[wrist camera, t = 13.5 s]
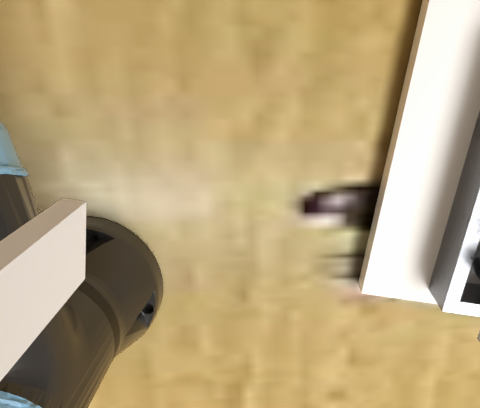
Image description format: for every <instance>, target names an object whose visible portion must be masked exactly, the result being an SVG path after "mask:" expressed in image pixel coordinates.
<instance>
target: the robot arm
mask: <svg viewBox="0 0 480 408" xmlns="http://www.w3.org/2000/svg"><path fill="white" fill-rule="evenodd" d="M27 176H29V175H28V171H27V170H26V169H25V168H23V166H22V164H21V161H20V159H19V157H18V154H17V152H16V150H15V147H14V145H13V142H12V139H11V137H10V134H9V132H8V130H7V128H6V127H5V125H4V124H3V123H2V122H1V121H0V408H88V406H89V404H90V402H91V400H92V398H93V397H94V395H95V393H96V391H97V389H98V387H99V385H100V383H101V381H102V379H103V378H104V376H105V374H106V372H107V370H108V368H109V366H110V364H111V362H112V361H113V359H114V357H115V356H117V355H118V354H119V353H121V352H122V351H123V350H125V349H126V348H127V347H129V346H130V345H131V344H133V343H134V342H135V341H137V340H138V339H139V338H140V337H141V336H142V335H143V334H144V333H145V332H146V331H147V330H148V328H149V327H150V326H151V324H152V322H153V320H154V318H155V316H156V314H157V312H158V310H159V308H160V305H161V302H162V297H163V279H162V274H161V271H160V268H159V265H158V263H157V261H156V259H155V257H154V255H153V254H152V252H151V251H150V249H149V248H148V247H147V246H146V245H145V243H144V242H143V241H142V240H141V239H140V238H139V237H137V236H136V235H135V234H134V233H132V232H131V231H129V230H128V229H126V228H125V227H123V226H121V225H119V224H117V223H114V222H112V221H109V220H106V219H102V218H96V217H86V204H87V201H80V200H74V199H67V198H62V199H60V200H59V201H57V202H56V203H55V204H53V205H52V206H50V207H49V208H47V209H46V210H44V211H43V212H42V213H40V214H39V213H38V210H37V207H36V204H35V201H34V198H33V195H32V192H31V188H30V185H29V182H28V179H27ZM477 339H478V340H479V341H480V332H479V335H478V337H477Z"/></svg>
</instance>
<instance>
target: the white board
mask: <svg viewBox="0 0 480 408" xmlns="http://www.w3.org/2000/svg"><path fill="white" fill-rule="evenodd" d="M479 111H480V0H422V5H421V9H420V14H419V18H418V22H417V27H416V31H415V36H414V40H413V44H412V49H411V53H410V58H409V62H408V66H407V71H406V75H405V80H404V84H403V88H402V93H401V97H400V102H399V106H398V110H397V115H396V119H395V124H394V128H393V132H392V137H391V141H390V146H389V150H388V154H387V159H386V163H385V168H384V172H383V176H382V181H381V185H380V190H379V194H378V198H377V203H376V207H375V212H374V216H373V220H372V225H371V229H370V234H369V238H368V242H367V247H366V251H365V256H364V260H363V264H362V269H361V273H360V278H359V282H358V284H359V287H360V290H361V293H363V294H370V295H377V296H384V297H391V298H398V299H405V300H412V301H419V302H426V303H433V304H437V302H436V301H435V299H434V297H433V296H432V294H431V292H430V291H429V289H428V287H429V284H430V280H431V277H432V273H433V270H434V266H435V263H436V259H437V256H438V252H439V249H440V246H441V242H442V239H443V235H444V232H445V228H446V225H447V221H448V218H449V214H450V211H451V208H452V204H453V201H454V197H455V194H456V190H457V187H458V183H459V180H460V176H461V173H462V169H463V166H464V163H465V159H466V156H467V152H468V149H469V145H470V142H471V138H472V135H473V131H474V128H475V125H476V121H477V118H478V114H479ZM479 242H480V240H479ZM466 283H473V284H480V279H479V278H478V277H477V276H476V275H475V274H474V272H473V271H472V270H471V269H470V271H469V274H468V277H467V280H466Z"/></svg>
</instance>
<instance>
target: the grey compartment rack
mask: <svg viewBox="0 0 480 408" xmlns="http://www.w3.org/2000/svg"><path fill="white" fill-rule="evenodd" d="M479 240H480V111H479V114H478V118H477V121H476V125H475V128H474V131H473V135H472V138H471V142H470V145H469V149H468V152H467V156H466V159H465V163H464V166H463V169H462V173H461V176H460V180H459V183H458V187H457V190H456V194H455V197H454V201H453V204H452V208H451V211H450V214H449V218H448V221H447V225H446V228H445V232H444V235H443V239H442V242H441V246H440V249H439V252H438V256H437V259H436V263H435V266H434V270H433V273H432V277H431V280H430V284H429V287H428V289H429V291H430V292H431V294H432V296H433V297H434V299H435V301H436V302H437V304H438V306H439V307H440V309H441V310H442V311H443V312H450V313H457V314H464V315H471V316H478V317H480V284H473V283H466V280H467V277H468V274H469V271H470V268H471V265H472V261H473V258H474V255H475V252H476V249H477V246H478V243H479Z"/></svg>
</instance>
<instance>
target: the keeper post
mask: <svg viewBox="0 0 480 408" xmlns="http://www.w3.org/2000/svg"><path fill="white" fill-rule="evenodd" d="M470 269H471V270H472V271H473V272H474V274H475V275H476V276H477V277H478V278H479V279H480V242H479V243H478V246H477V249H476V252H475V255H474V258H473V261H472V265H471V268H470Z"/></svg>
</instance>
